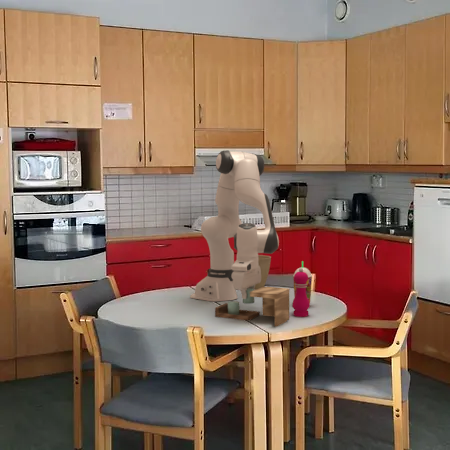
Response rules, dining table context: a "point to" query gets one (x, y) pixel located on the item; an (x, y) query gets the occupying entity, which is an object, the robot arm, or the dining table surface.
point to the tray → (243, 315)
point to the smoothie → (308, 288)
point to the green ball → (233, 307)
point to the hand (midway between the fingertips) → (248, 297)
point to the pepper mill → (300, 295)
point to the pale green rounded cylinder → (249, 299)
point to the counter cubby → (274, 302)
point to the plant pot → (263, 269)
